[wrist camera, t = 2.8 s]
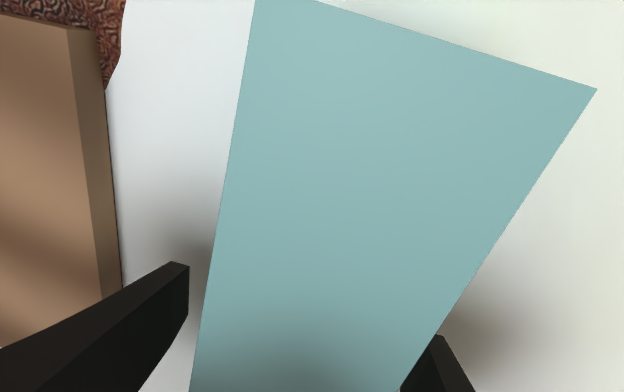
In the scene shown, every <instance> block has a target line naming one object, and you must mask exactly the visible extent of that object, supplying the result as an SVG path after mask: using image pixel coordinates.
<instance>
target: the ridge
mask: <svg viewBox="0 0 624 392" xmlns="http://www.w3.org/2000/svg"><path fill="white" fill-rule="evenodd" d="M121 289H122V281H121V270H120V260H119V249H118V238H117V228H116V217H115V206H114V196H113V185H112V174H111V163H110V153H109V142H108V131H107V121H106V110H105V99H104V88H103V78H102V72H101V66H100V59H99V53H98V45H97V38H96V31H93V30H88V29H83V28H78V27H74V26H69V25H64V24H59V23H54V22H50V21H45V20H40V19H36V18H31V17H26V16H22V15H17V14H12V13H8V12H3V11H0V347H5V346H7V345H10V344H12V343H14V342H17V341H19V340H21V339H24V338H26V337H28V336H30V335H33V334H35V333H37V332H39V331H41V330H44V329H46V328H48V327H50V326H52V325H54V324H56V323H58V322H60V321H62V320H64V319H66V318H68V317H70V316H72V315H74V314H76V313H78V312H80V311H82V310H84V309H86V308H88V307H90V306H92V305H94V304H95V303H97V302H99V301H101V300H103V299H105V298H106V297H108V296H110V295H112V294H114V293H115V292H117V291H119V290H121Z"/></svg>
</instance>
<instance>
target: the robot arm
mask: <svg viewBox="0 0 624 392" xmlns="http://www.w3.org/2000/svg"><path fill="white" fill-rule="evenodd" d="M189 269H190V266H187V265H183V264H180V263H176V262H173V261H170V262H169V263H167V264H165V265H163V266H161V267H160V268H158V269H156V270H154V271H152V272H151V273H149V274H147V275H146V276H144V277H142V278H140V279H139V280H137V281H135V282H133V283H132V284H130V285H128V286H126V287H125V288H123V289H121V290H119V291H117V292H115V293H114V294H112V295H110V296H108V297H106V298H105V299H103V300H101V301H99V302H97V303H95V304H94V305H92V306H90V307H88V308H86V309H84V310H82V311H80V312H78V313H76V314H74V315H72V316H70V317H68V318H66V319H64V320H62V321H60V322H58V323H56V324H54V325H52V326H50V327H48V328H46V329H44V330H41V331H39V332H37V333H35V334H33V335H30V336H28V337H26V338H24V339H21V340H19V341H17V342H14V343H12V344H10V345H7V346H5V347H3V348H0V392H138V391H139V390H140V388H141V387H142V385H143V384H144V383H145V381H146V380H147V379H148V377H149V376H150V374H151V373H152V372H153V370H154V369H155V367H156V366H157V364H158V363H159V362H160V360H161V359H162V357H163V356H164V355H165V353H166V352H167V350H168V349H169V347H170V346H171V344H172V343H173V341H174V339H175V337H176V336H177V334H178V332H179V330H180V328H181V327H182V325H183V323H184V321H185V319H186V317H187V316H188V304H189ZM400 392H475V390H474V388H473V387H472V385H471V383H470V381H469V380H468V378H467V376H466V375H465V373H464V371H463V369H462V368H461V366H460V364H459V363H458V361H457V359H456V357H455V356H454V354H453V352H452V350H451V349H450V347H449V345H448V344H447V342H446V340H445V338H444V337H443V336H440V335H437V334H435V335H434V336H433V338H432V339H431V341H430V342H429V344H428V345H427V347H426V348H425V350H424V351H423V353H422V354H421V356H420V357H419V359H418V360H417V362H416V364H415V365H414V367H413V368H412V370H411V371H410V373H409V374H408V376H407V377H406V379H405V380H404V382H403V383H402V385H401V386H400Z"/></svg>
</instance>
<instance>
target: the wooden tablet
mask: <svg viewBox="0 0 624 392" xmlns="http://www.w3.org/2000/svg"><path fill="white" fill-rule="evenodd" d="M125 3H126V0H0V11H3V12H8V13H12V14H17V15H22V16H26V17H31V18H36V19H40V20H45V21H50V22H54V23H59V24H64V25H69V26H74V27H78V28H83V29H88V30H93V31H96V38H97V45H98V53H99V59H100V66H101V72H102V78H103V88H104V90H106V88H107V85H108V83H109V80H110V78H111V76H112V74H113V72H114V70H115V68H116V66H117V64H118V61H119V58H120V55H121V27H122V18H123V13H124V8H125Z"/></svg>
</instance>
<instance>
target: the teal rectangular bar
mask: <svg viewBox="0 0 624 392" xmlns="http://www.w3.org/2000/svg"><path fill="white" fill-rule="evenodd" d="M596 91H597V89H596V88H593V87H590V86H587V85H583V84H580V83H577V82H574V81H571V80H567V79H564V78H561V77H558V76H555V75H551V74H548V73H545V72H542V71H539V70H535V69H532V68H529V67H526V66H523V65H520V64H516V63H513V62H510V61H507V60H504V59H500V58H497V57H494V56H491V55H488V54H484V53H481V52H478V51H475V50H472V49H468V48H465V47H462V46H459V45H456V44H452V43H449V42H446V41H443V40H440V39H437V38H433V37H430V36H427V35H424V34H421V33H417V32H414V31H411V30H408V29H405V28H401V27H398V26H395V25H392V24H389V23H385V22H382V21H379V20H376V19H373V18H369V17H366V16H363V15H360V14H357V13H354V12H350V11H347V10H344V9H341V8H338V7H334V6H331V5H328V4H325V3H322V2H318V1H315V0H255V6H254V12H253V17H252V23H251V29H250V35H249V41H248V47H247V53H246V58H245V64H244V70H243V76H242V82H241V88H240V94H239V99H238V105H237V111H236V117H235V123H234V129H233V135H232V140H231V146H230V152H229V158H228V164H227V170H226V176H225V182H224V187H223V193H222V199H221V205H220V211H219V217H218V223H217V228H216V234H215V240H214V246H213V252H212V258H211V264H210V269H209V275H208V281H207V287H206V293H205V299H204V305H203V310H202V316H201V322H200V328H199V334H198V340H197V346H196V351H195V357H194V363H193V369H192V375H191V381H190V387H189V392H397V391H398V389H399V388H400V386H401V385H402V383H403V382H404V380H405V379H406V377H407V376H408V374H409V373H410V371H411V370H412V368H413V367H414V365H415V364H416V362H417V360H418V359H419V357H420V356H421V354H422V353H423V351H424V350H425V348H426V347H427V345H428V344H429V342H430V341H431V339H432V338H433V336H434V335H435V333H436V332H437V330H438V329H439V327H440V326H441V324H442V323H443V321H444V320H445V318H446V317H447V315H448V314H449V312H450V311H451V309H452V308H453V306H454V305H455V303H456V302H457V300H458V299H459V297H460V296H461V294H462V293H463V291H464V290H465V288H466V287H467V285H468V284H469V282H470V281H471V279H472V278H473V276H474V275H475V273H476V272H477V270H478V269H479V267H480V266H481V264H482V263H483V261H484V260H485V258H486V257H487V255H488V253H489V252H490V250H491V249H492V247H493V246H494V244H495V243H496V241H497V240H498V238H499V237H500V235H501V234H502V232H503V231H504V229H505V228H506V226H507V225H508V223H509V222H510V220H511V219H512V217H513V216H514V214H515V213H516V211H517V210H518V208H519V207H520V205H521V204H522V202H523V201H524V199H525V198H526V196H527V195H528V193H529V192H530V190H531V189H532V187H533V186H534V184H535V183H536V181H537V180H538V178H539V177H540V175H541V174H542V172H543V171H544V169H545V168H546V166H547V165H548V163H549V162H550V160H551V159H552V157H553V156H554V154H555V153H556V151H557V149H558V148H559V146H560V145H561V143H562V142H563V140H564V139H565V137H566V136H567V134H568V133H569V131H570V130H571V128H572V127H573V125H574V124H575V122H576V121H577V119H578V118H579V116H580V115H581V113H582V112H583V110H584V109H585V107H586V106H587V104H588V103H589V101H590V100H591V98H592V97H593V95H594V94H595V92H596Z"/></svg>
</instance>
